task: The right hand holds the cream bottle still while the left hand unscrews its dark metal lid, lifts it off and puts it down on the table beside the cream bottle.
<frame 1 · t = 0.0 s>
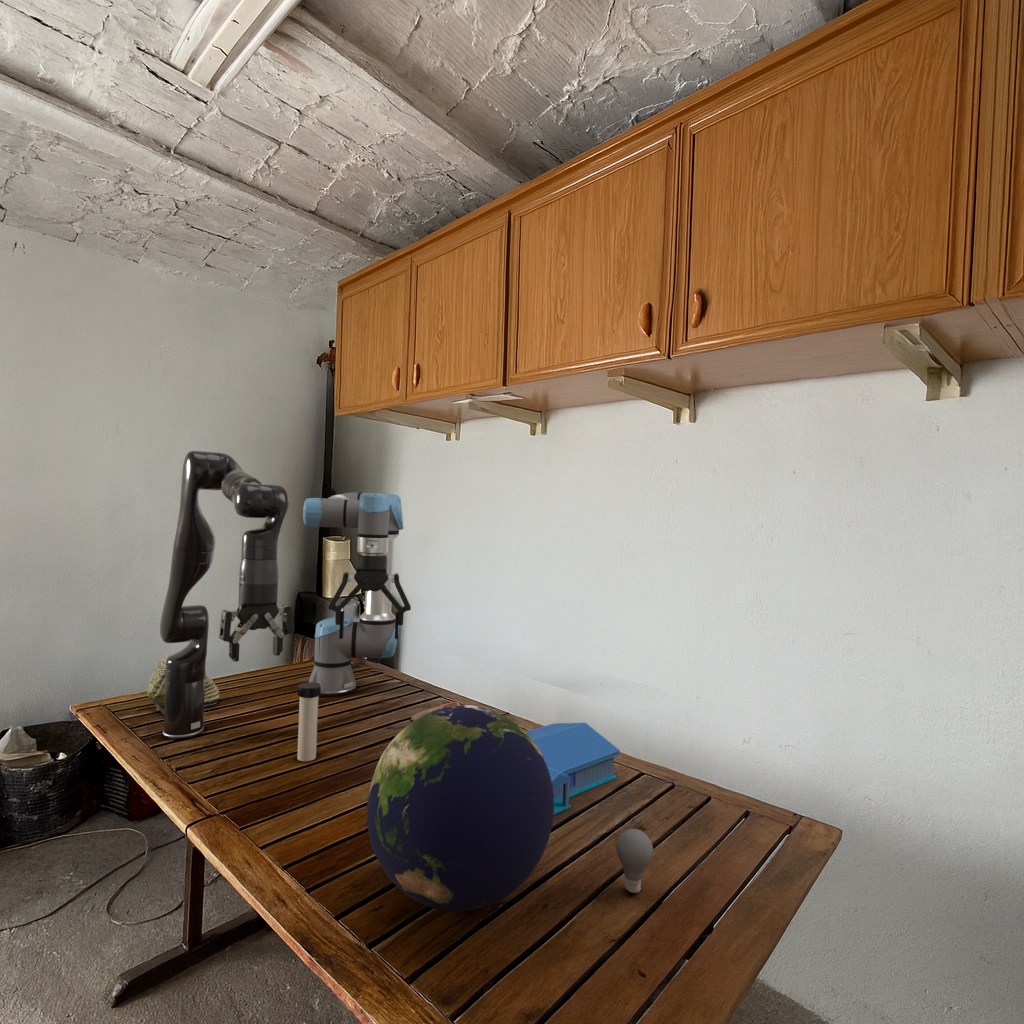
left hand: (256, 657, 132), 29 cm above the table, tool pointing down, fingers open, 8 cm apart
right hand: (369, 638, 160), 28 cm above the table, tool pointing down, fingers open, 13 cm apart
cream bottle: (306, 757, 153), on the table
lid: (309, 686, 153), point 17 cm above the table, screwed on, not yet turned
anatomical model: (435, 719, 184), on the table
globe: (457, 895, 103), on the table
fossil: (183, 706, 185), on the table
light bulb: (632, 891, 106), on the table
model building: (530, 787, 143), on the table
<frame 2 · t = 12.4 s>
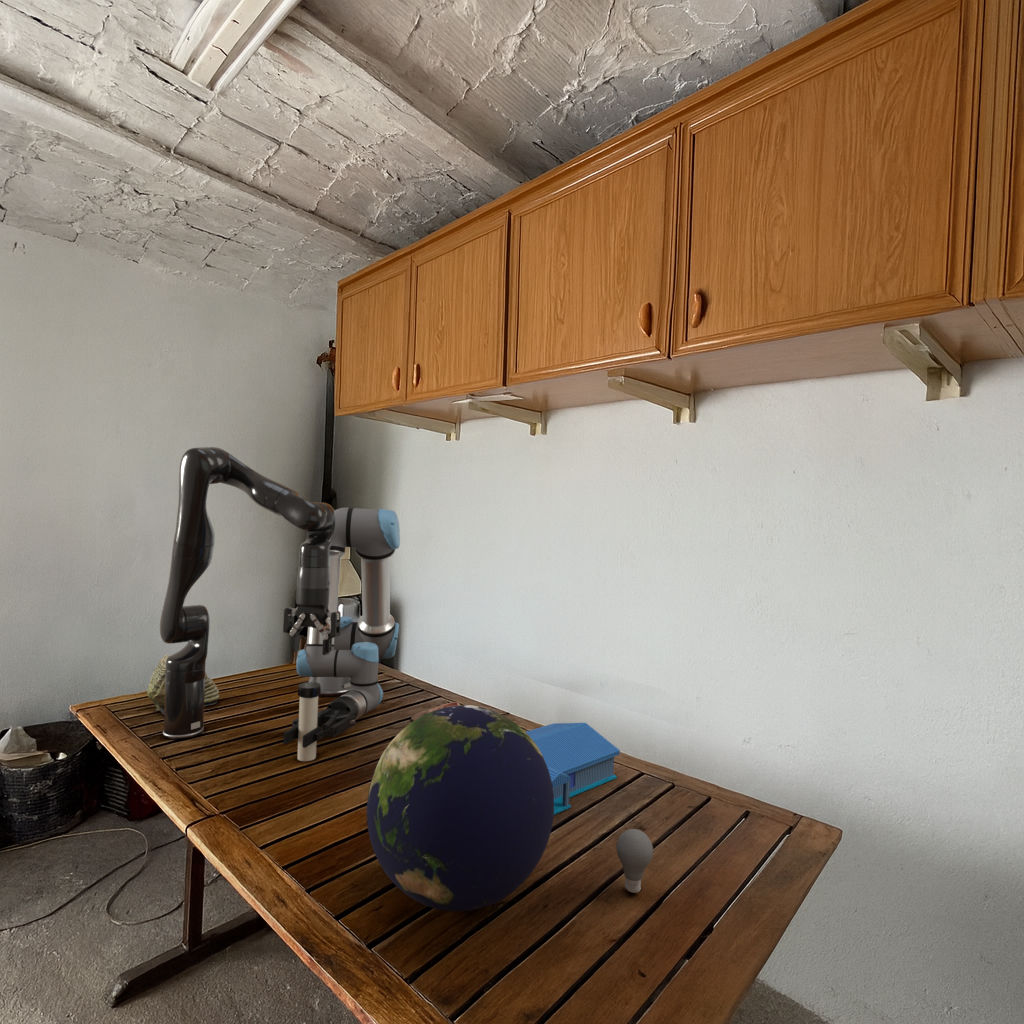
left hand: (310, 652, 153), 26 cm above the table, tool pointing down, fingers open, 7 cm apart
right hand: (294, 740, 148), 6 cm above the table, tool horizontal, fingers closed on cream bottle, 4 cm apart
cream bottle: (306, 757, 153), on the table, touching right hand
everything else where it was.
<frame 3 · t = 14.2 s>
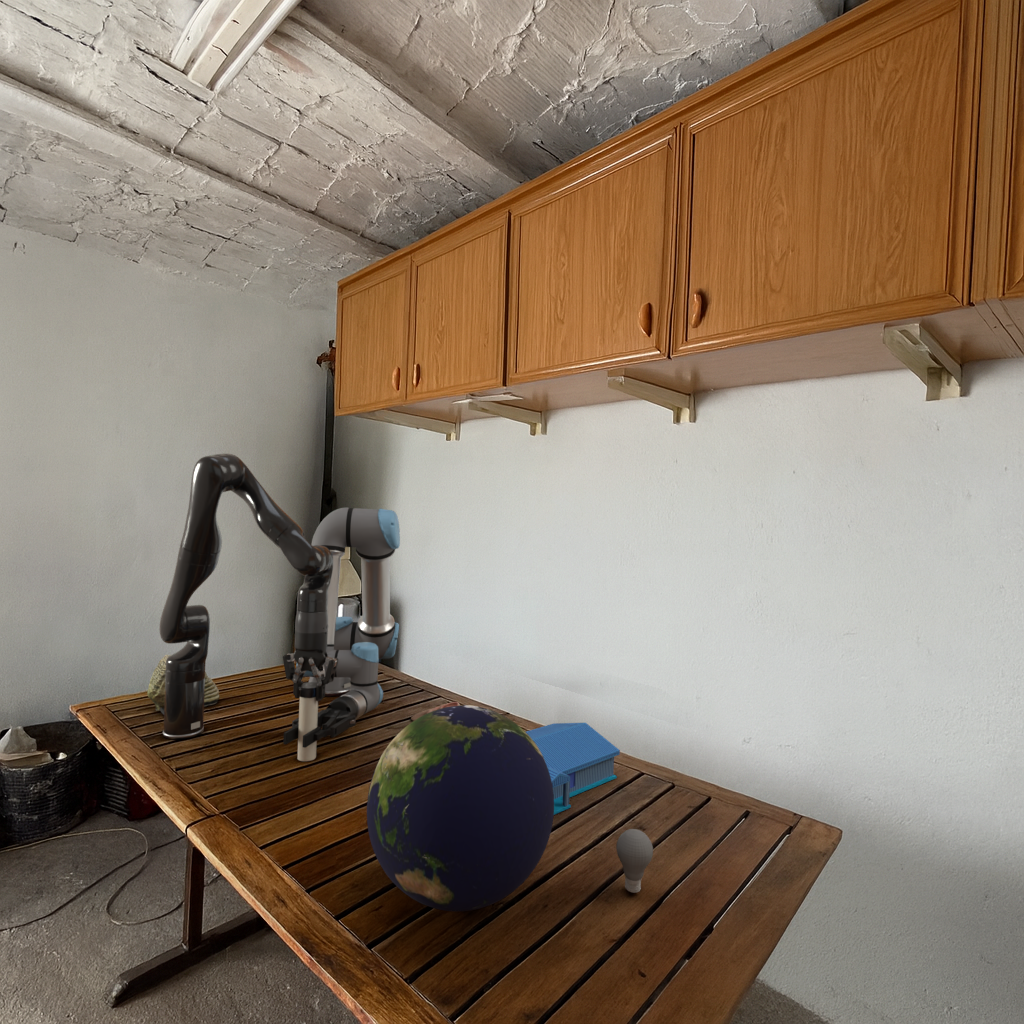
left hand: (309, 698, 153), 14 cm above the table, tool pointing down, fingers closed on lid, 5 cm apart
right hand: (294, 740, 148), 6 cm above the table, tool horizontal, fingers closed on cream bottle, 4 cm apart
cream bottle: (306, 757, 153), on the table, touching right hand
lid: (309, 686, 153), point 17 cm above the table, screwed on, not yet turned, touching left hand
everything else where it was.
when the left hand's fingers open (0 cm above the table, at t = 40.2 s): lid drops 1 cm, point 2 cm above the table.
when the right hand's fingers open (6 cm above the table, at t = 41.1 s): cream bottle stays where it is, on the table.
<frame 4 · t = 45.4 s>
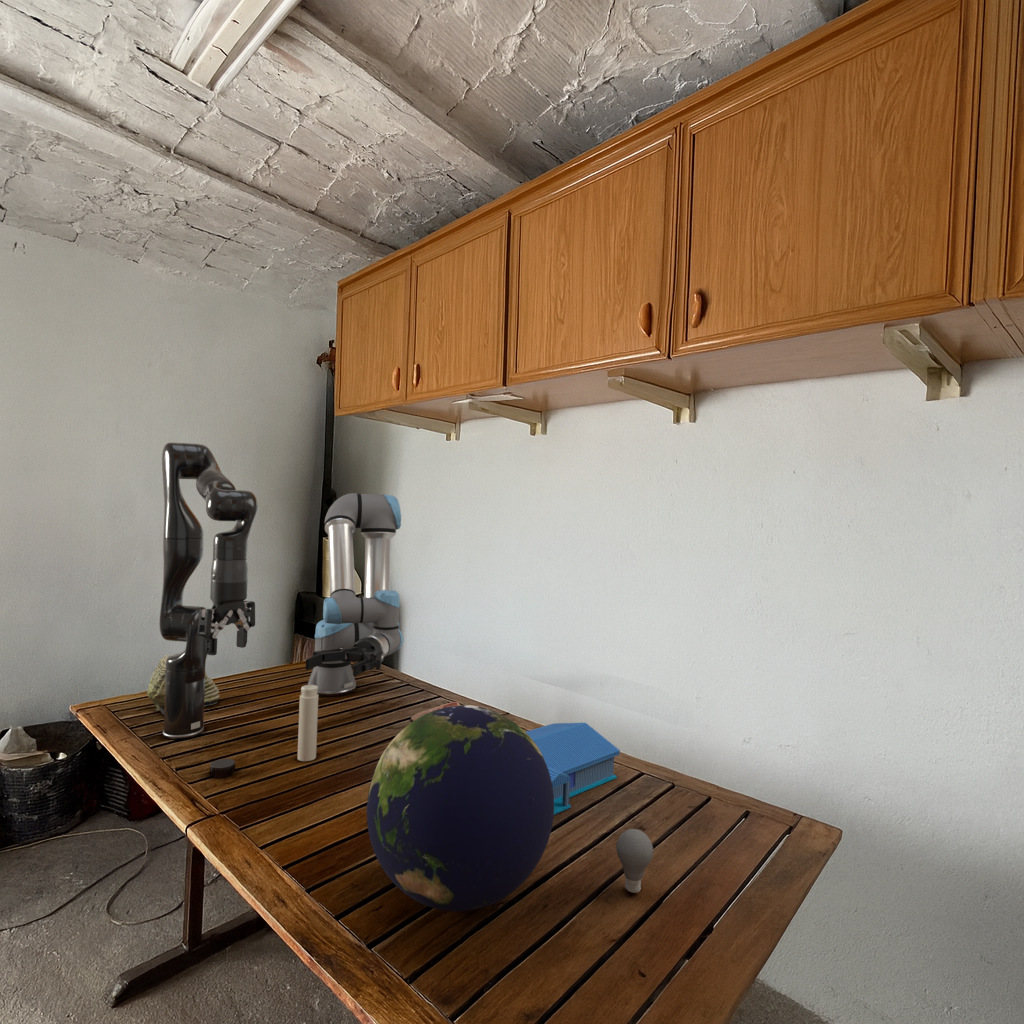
left hand: (226, 650, 142), 28 cm above the table, tool pointing down, fingers open, 8 cm apart
right hand: (330, 667, 161), 20 cm above the table, tool horizontal, fingers open, 13 cm apart
cream bottle: (306, 757, 153), on the table
lid: (222, 764, 143), point 2 cm above the table, off its thread
everything else where it was.
at the end: lid came off its thread; lid point 1.9 cm above the table; the left hand is holding nothing; the right hand is holding nothing; cream bottle tilted 0°; cream bottle moved 0.0 cm from its start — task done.
